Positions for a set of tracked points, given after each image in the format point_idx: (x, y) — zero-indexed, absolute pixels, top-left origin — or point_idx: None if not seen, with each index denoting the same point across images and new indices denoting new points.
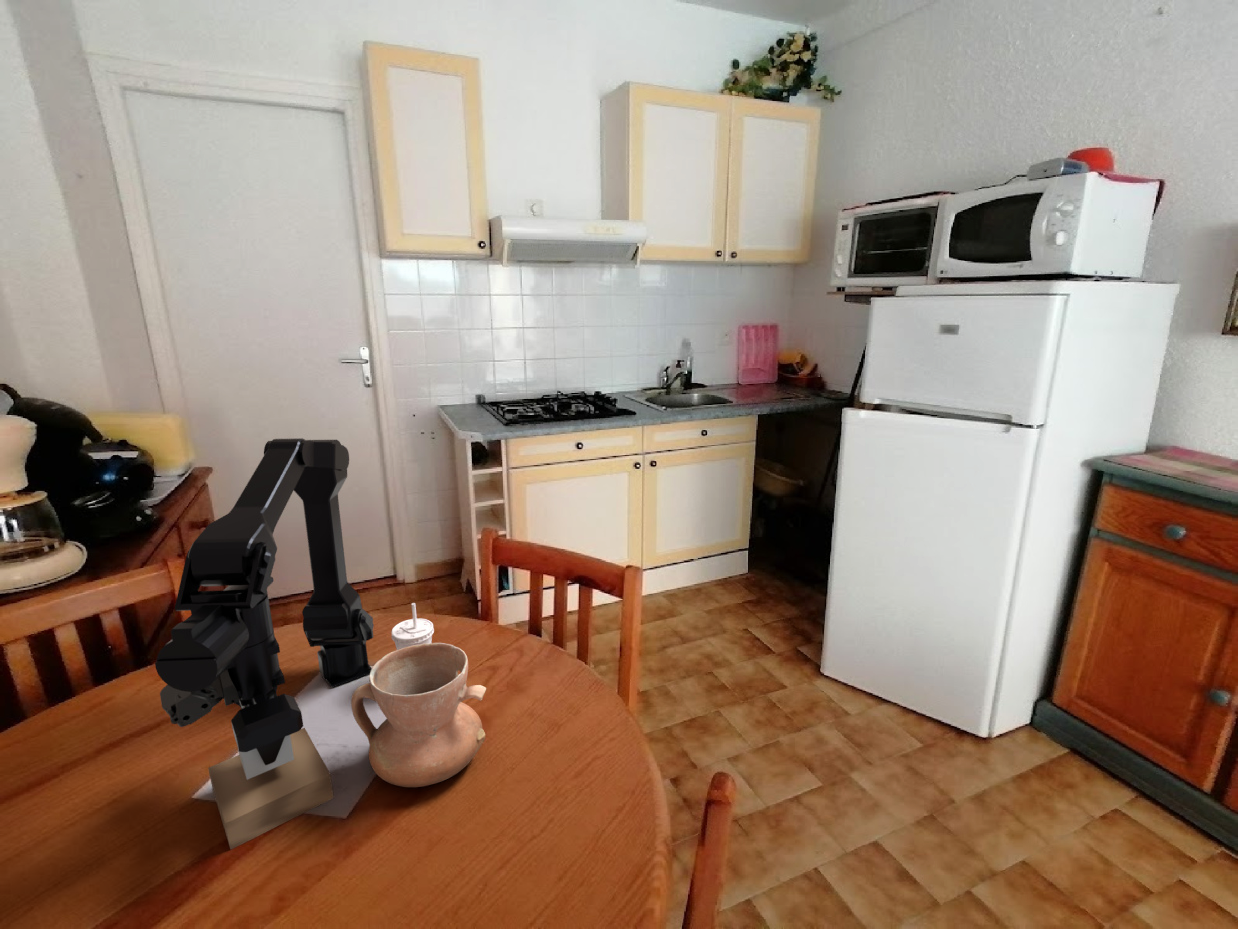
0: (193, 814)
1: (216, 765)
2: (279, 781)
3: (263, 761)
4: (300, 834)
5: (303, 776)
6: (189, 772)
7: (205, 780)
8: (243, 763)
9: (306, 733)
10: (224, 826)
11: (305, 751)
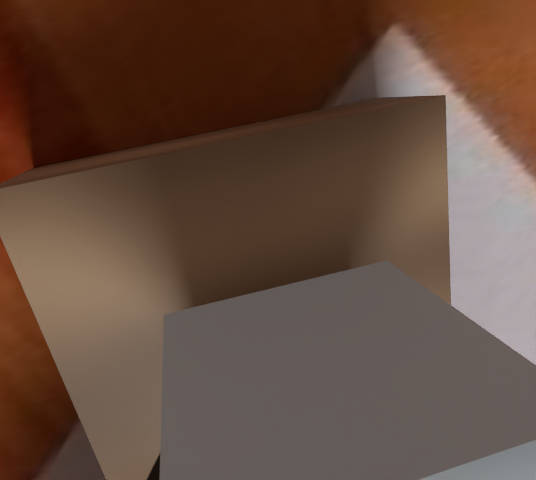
0: (296, 32)
1: (438, 131)
2: None
3: (152, 467)
4: (12, 375)
5: None
6: (530, 12)
7: (453, 69)
8: (196, 361)
9: None
10: (107, 157)
11: None
